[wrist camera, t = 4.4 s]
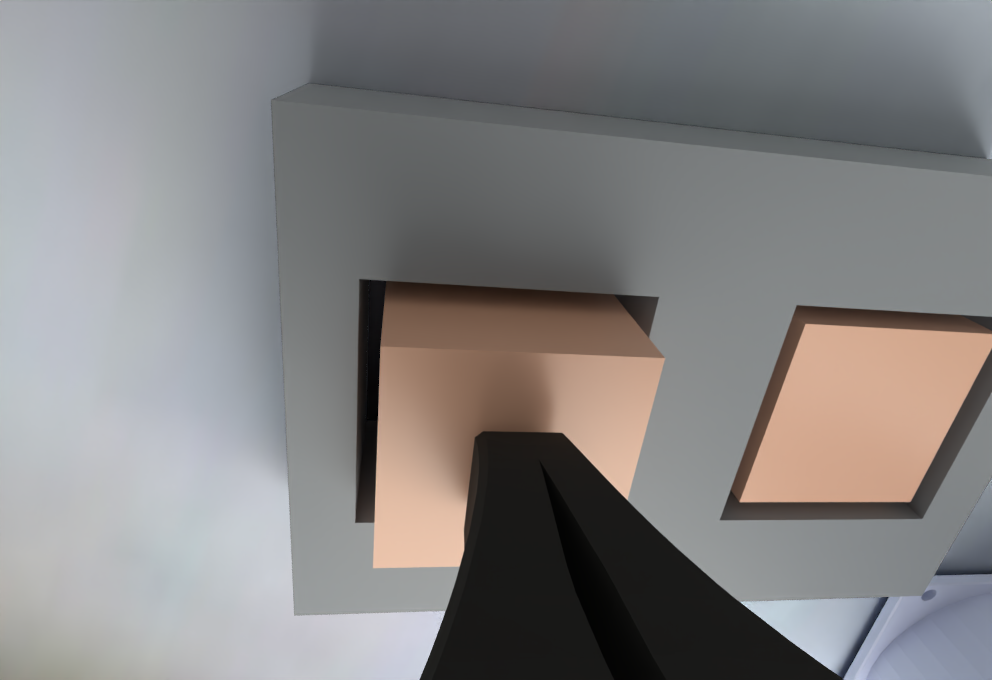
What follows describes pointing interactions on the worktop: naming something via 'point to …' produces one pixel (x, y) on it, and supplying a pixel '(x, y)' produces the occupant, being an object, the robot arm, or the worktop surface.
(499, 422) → the button
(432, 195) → the switch block
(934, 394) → the button
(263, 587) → the worktop surface
